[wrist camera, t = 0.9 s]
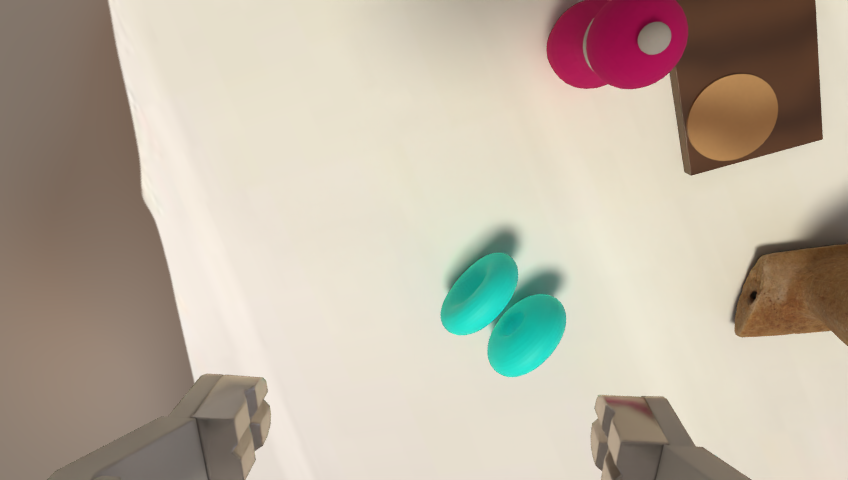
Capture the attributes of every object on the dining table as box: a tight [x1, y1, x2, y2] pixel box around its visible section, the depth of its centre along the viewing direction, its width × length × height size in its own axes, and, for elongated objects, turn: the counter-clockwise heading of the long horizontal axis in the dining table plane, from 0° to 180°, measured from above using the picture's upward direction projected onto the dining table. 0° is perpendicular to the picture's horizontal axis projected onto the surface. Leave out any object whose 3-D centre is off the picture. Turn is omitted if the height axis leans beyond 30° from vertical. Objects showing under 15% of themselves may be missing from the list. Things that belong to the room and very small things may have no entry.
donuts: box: [441, 252, 566, 377], centre depth 51 cm, size 10×10×10 cm
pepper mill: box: [547, 0, 688, 89], centre depth 37 cm, size 7×7×20 cm
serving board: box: [670, 0, 823, 175], centre depth 44 cm, size 22×12×2 cm, turn 18°
